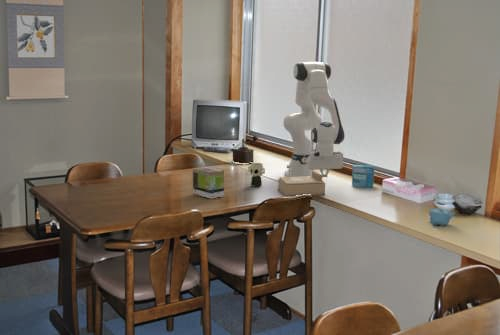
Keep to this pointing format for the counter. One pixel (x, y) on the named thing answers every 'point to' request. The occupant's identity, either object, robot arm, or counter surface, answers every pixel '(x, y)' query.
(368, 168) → the data package
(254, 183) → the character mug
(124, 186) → the counter surface
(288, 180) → the lid
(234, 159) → the pepper mill
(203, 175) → the tea box
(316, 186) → the tray
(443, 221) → the teapot
